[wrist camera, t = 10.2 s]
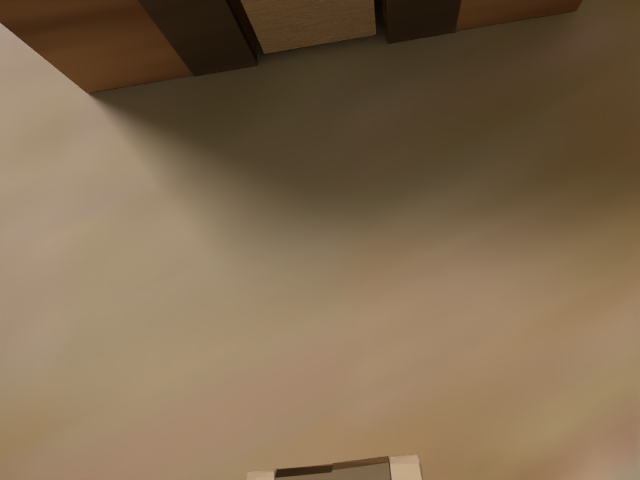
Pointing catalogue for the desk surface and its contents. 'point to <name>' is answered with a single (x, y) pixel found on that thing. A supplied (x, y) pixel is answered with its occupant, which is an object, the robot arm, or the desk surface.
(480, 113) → the desk surface
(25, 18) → the housing
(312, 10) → the elongated beige block
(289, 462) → the desk surface
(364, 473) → the robot arm
